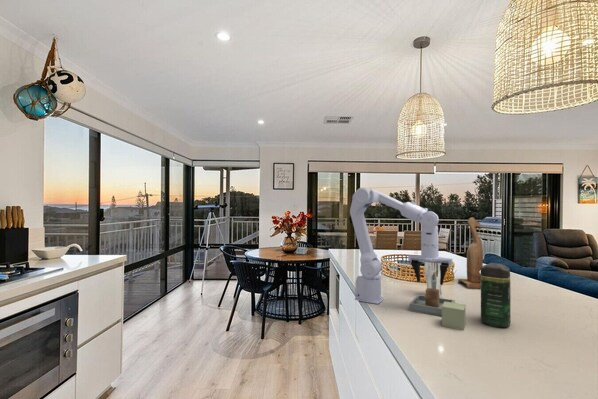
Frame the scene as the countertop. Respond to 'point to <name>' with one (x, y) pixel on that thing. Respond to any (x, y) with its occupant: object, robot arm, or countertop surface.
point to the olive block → (453, 315)
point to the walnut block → (432, 297)
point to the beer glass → (433, 276)
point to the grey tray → (420, 307)
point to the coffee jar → (495, 295)
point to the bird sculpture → (474, 258)
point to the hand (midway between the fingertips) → (429, 282)
